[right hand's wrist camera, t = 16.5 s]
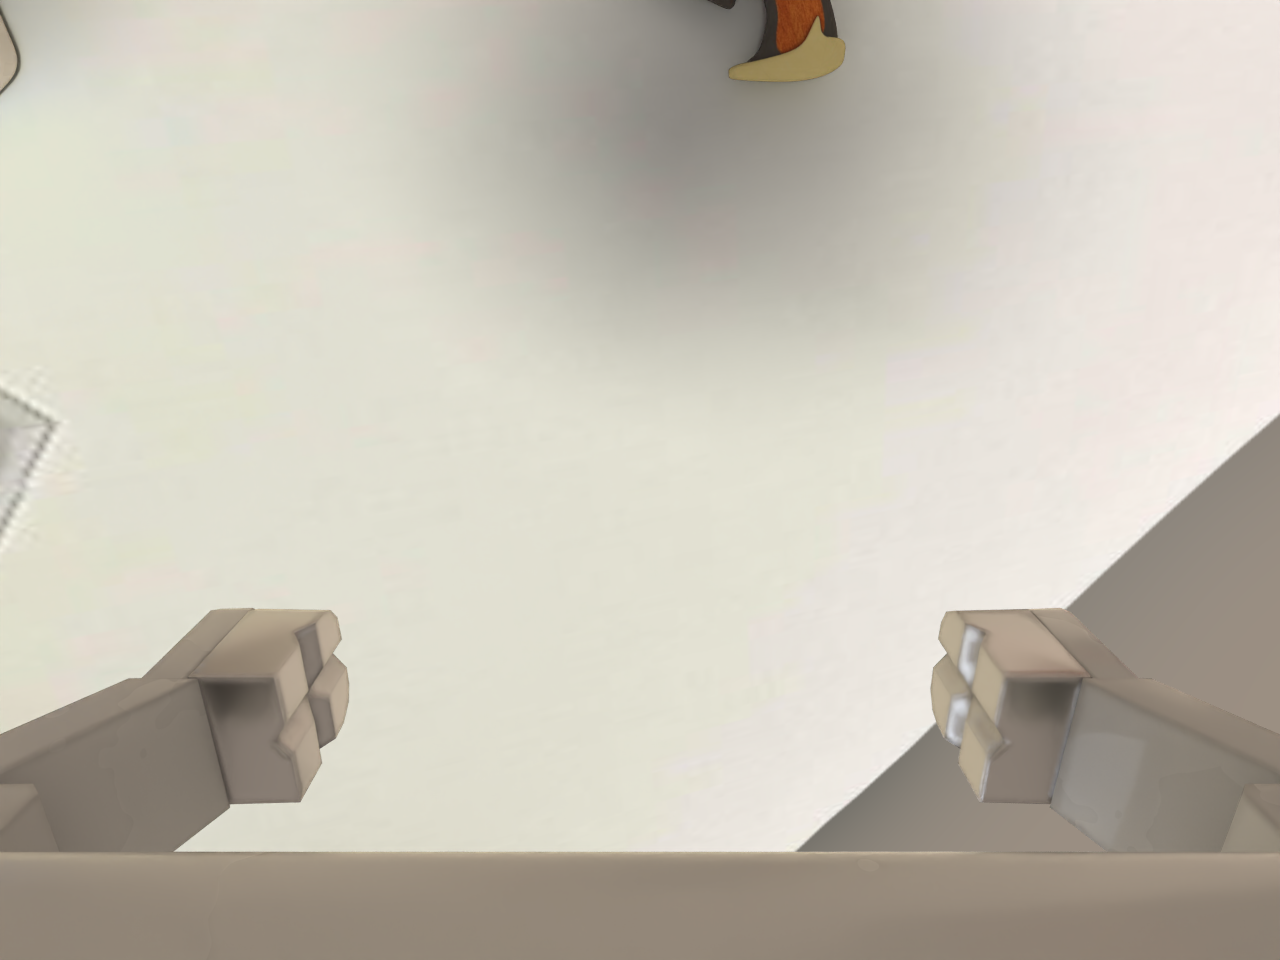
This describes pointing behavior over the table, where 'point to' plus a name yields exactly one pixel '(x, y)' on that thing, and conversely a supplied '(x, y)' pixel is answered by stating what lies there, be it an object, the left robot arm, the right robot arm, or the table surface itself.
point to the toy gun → (793, 42)
